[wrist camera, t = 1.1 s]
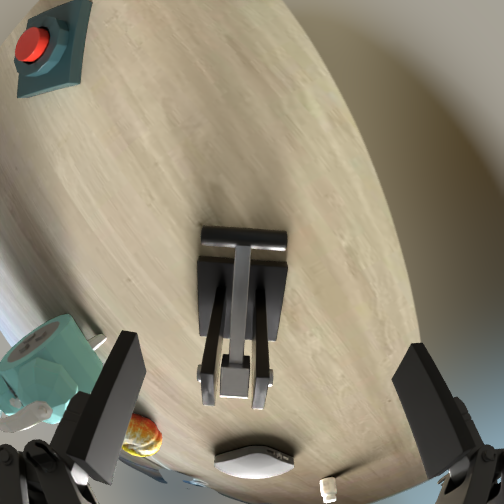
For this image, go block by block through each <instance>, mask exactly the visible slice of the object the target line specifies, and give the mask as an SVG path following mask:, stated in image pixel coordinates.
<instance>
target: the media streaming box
mask: <svg viewBox="0 0 504 504" xmlns="http://www.w3.org/2000/svg"><path fill="white" fill-rule="evenodd" d="M214 466H215V467H216V468H217V469H218V470H220V471H222V472H224V473H226V474H229V475H232V476H235V477H240V478H268V477H273V476H277V475H280V474H283V473H285V472H288V471H290V470H291V469H293V468H294V459H293V458H292V457H290V456H288V455H286V454H284V453H282V452H279V451H277V450H274V449H272V448H269V447H265V446H249V447H245V448H241V449H237V450H234V451H230V452H226V453H223V454H220V455H217V456H215V460H214Z"/></svg>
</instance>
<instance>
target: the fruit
mask: <svg viewBox="0 0 504 504" xmlns="http://www.w3.org/2000/svg"><path fill="white" fill-rule="evenodd" d="M161 444H162V433H160V431H159V430H158V429H157V427H156V424H155V423H154V422H153V421H151V420H150V419H148V418H147V417H142V416H141V415H139V414H136V413H132V416H131V419H130V422H129V425H128V429H127V432H126V435H125V438H124V442H123V445H122V449H123V450H125V451H126V452H128V453H130V454H132V455H135V456H145V457H146V456H151V455H153V454H155V453H157V452H158V451H159V449H160V446H161Z"/></svg>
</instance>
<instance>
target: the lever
mask: <svg viewBox="0 0 504 504" xmlns="http://www.w3.org/2000/svg"><path fill="white" fill-rule="evenodd" d="M201 245H204V246H218V247H233V248H235V261H234V277H233V293H232V310H231V328H230V346H229V354H223V358H222V363H221V375H220V396H222V397H236V398H248V388H249V376H250V356H244V342H245V328H246V314H247V300H248V286H249V272H250V258H251V249H261V250H275V251H285V250H286V247H287V232H286V231H279V230H266V229H252V228H238V227H223V226H208V225H203V226H202V230H201Z"/></svg>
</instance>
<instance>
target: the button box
mask: <svg viewBox="0 0 504 504" xmlns="http://www.w3.org/2000/svg"><path fill="white" fill-rule="evenodd" d="M91 7H92V2H91V1H89V0H73V1H70V2H67V3H65V4H62V5H60V6H57V7H55V8H52V9H50V10H48V11H45V12H43V13H41V14H39V15H37V16H34V17H32V18H30V19H29V20H28V23H27V28H26V30H27V29H29V28H31V27H37V28H41V29H45V30H47V31H48V32H49V35H50V40H49V45H48V47H47V49H46V50H45V52H44V54H43V55H42V56H41V57H40V58H39V59H38V60H36V61H34V62H27V61H19V60H18V59H17V58H16V56H15V58H14V63H15V66H16V69H17V72H18V73H19V79H18V90H17V98H29V97H32V96H36V95H39V94H42V93H46V92H50V91H53V90H57V89H61V88H65V87H70V86H74V85H78V84H80V80H81V69H82V60H83V52H84V45H85V38H86V32H87V26H88V21H89V16H90V11H91ZM26 30H25V31H26ZM25 31H24V32H25Z"/></svg>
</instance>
